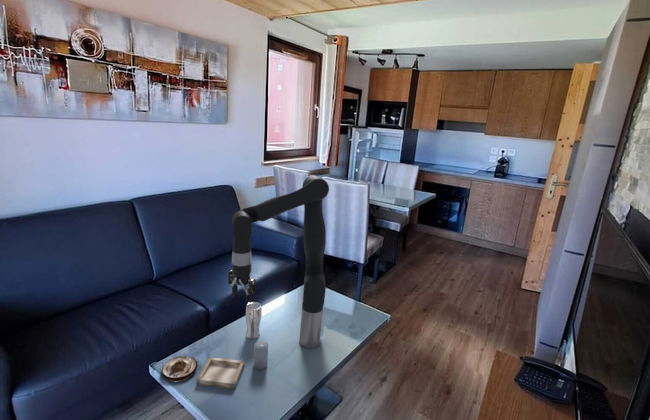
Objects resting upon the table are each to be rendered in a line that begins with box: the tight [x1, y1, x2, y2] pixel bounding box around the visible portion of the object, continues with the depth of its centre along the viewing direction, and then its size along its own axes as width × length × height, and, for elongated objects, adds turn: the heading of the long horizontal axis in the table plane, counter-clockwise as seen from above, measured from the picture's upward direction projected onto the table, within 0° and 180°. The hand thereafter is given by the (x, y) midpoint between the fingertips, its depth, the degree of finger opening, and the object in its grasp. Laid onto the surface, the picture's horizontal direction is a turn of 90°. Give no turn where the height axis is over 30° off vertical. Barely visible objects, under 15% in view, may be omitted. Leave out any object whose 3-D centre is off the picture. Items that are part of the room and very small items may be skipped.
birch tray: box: [196, 356, 245, 390], centre depth 126 cm, size 14×12×2 cm
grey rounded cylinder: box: [253, 340, 269, 371], centre depth 133 cm, size 6×6×9 cm
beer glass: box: [245, 301, 263, 340], centre depth 150 cm, size 7×7×15 cm
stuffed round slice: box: [161, 355, 200, 382], centre depth 127 cm, size 15×15×4 cm
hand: (241, 298), depth 135 cm, fingers open, 8 cm apart
